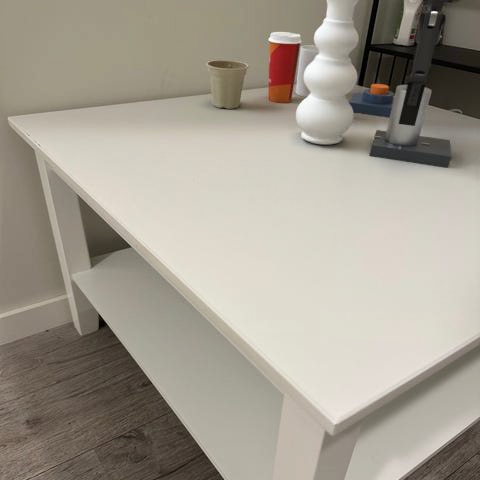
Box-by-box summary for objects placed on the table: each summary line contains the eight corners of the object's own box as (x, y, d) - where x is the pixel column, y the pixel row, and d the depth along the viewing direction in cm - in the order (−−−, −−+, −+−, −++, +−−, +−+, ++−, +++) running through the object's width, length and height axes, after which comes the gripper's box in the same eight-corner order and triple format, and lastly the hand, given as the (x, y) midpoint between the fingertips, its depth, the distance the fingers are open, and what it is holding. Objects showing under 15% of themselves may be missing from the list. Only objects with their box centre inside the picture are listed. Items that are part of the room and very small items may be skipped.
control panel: (447, 150, 93) (450, 138, 92) (448, 167, 85) (452, 155, 84) (374, 139, 96) (376, 128, 95) (368, 156, 88) (371, 144, 87)
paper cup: (278, 94, 122) (284, 30, 113) (301, 101, 117) (309, 35, 109) (257, 98, 117) (261, 32, 108) (280, 106, 113) (286, 38, 104)
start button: (387, 93, 113) (389, 85, 112) (386, 97, 110) (388, 88, 109) (370, 91, 114) (372, 83, 113) (368, 94, 111) (370, 86, 110)
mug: (295, 97, 120) (301, 49, 114) (295, 89, 126) (300, 44, 120) (344, 100, 120) (352, 53, 113) (341, 92, 126) (348, 47, 120)
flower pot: (253, 105, 113) (256, 64, 107) (232, 113, 106) (234, 70, 101) (220, 98, 116) (221, 58, 111) (198, 106, 110) (197, 64, 104)
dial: (386, 133, 93) (398, 81, 87) (418, 138, 92) (432, 85, 86) (383, 143, 88) (396, 88, 83) (417, 147, 87) (432, 92, 81)
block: (401, 108, 116) (406, 90, 114) (399, 119, 109) (404, 100, 106) (352, 102, 119) (355, 84, 116) (347, 112, 111) (350, 93, 109)
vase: (292, 129, 99) (309, -18, 83) (345, 133, 99) (371, -14, 83) (294, 147, 90) (313, -14, 75) (352, 151, 90) (382, -10, 75)
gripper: (474, -26, 64) (429, 137, 77) (465, -31, 83) (430, 100, 96) (416, -30, 65) (381, 130, 78) (420, -34, 84) (391, 96, 97)
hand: (408, 114), depth 87 cm, fingers open, 13 cm apart
